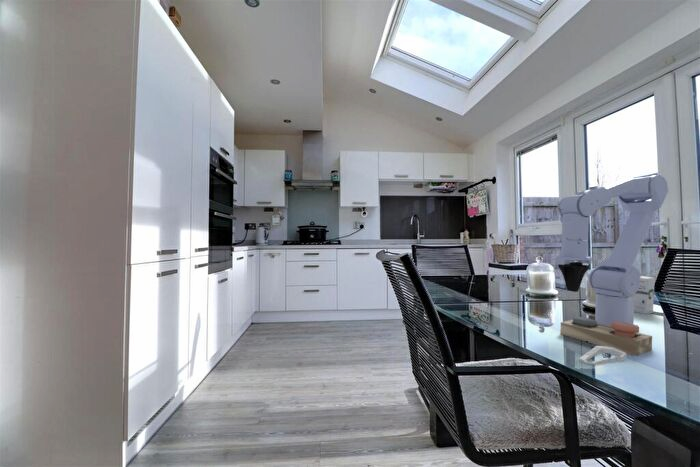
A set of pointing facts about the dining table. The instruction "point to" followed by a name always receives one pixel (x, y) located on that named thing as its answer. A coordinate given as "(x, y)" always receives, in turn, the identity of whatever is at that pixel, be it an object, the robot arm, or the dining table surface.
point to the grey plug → (584, 322)
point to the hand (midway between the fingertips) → (572, 291)
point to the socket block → (607, 337)
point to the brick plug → (625, 329)
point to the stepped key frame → (603, 349)
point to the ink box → (644, 296)
